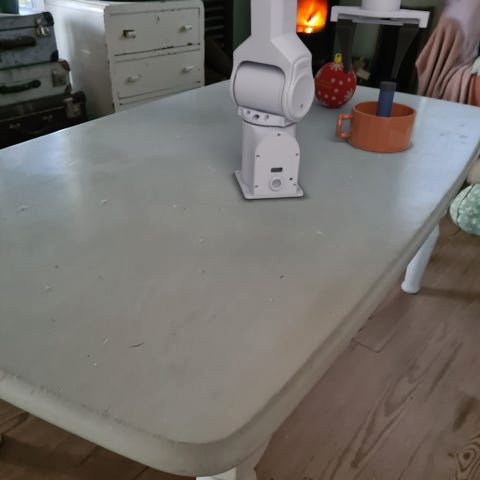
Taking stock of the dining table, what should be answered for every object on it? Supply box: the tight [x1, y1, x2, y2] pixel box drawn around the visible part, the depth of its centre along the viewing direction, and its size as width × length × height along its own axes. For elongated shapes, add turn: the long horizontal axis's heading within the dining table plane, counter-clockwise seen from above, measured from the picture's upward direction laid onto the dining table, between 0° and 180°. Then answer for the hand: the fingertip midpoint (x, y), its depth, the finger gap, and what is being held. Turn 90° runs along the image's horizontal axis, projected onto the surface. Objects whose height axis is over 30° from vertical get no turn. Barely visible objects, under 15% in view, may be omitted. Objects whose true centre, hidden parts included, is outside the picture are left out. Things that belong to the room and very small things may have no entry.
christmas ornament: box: [313, 53, 357, 109], centre depth 104 cm, size 9×9×10 cm
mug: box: [334, 100, 418, 153], centre depth 87 cm, size 13×10×6 cm
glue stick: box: [376, 80, 397, 117], centre depth 86 cm, size 2×2×9 cm
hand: (369, 74), depth 84 cm, fingers open, 7 cm apart
